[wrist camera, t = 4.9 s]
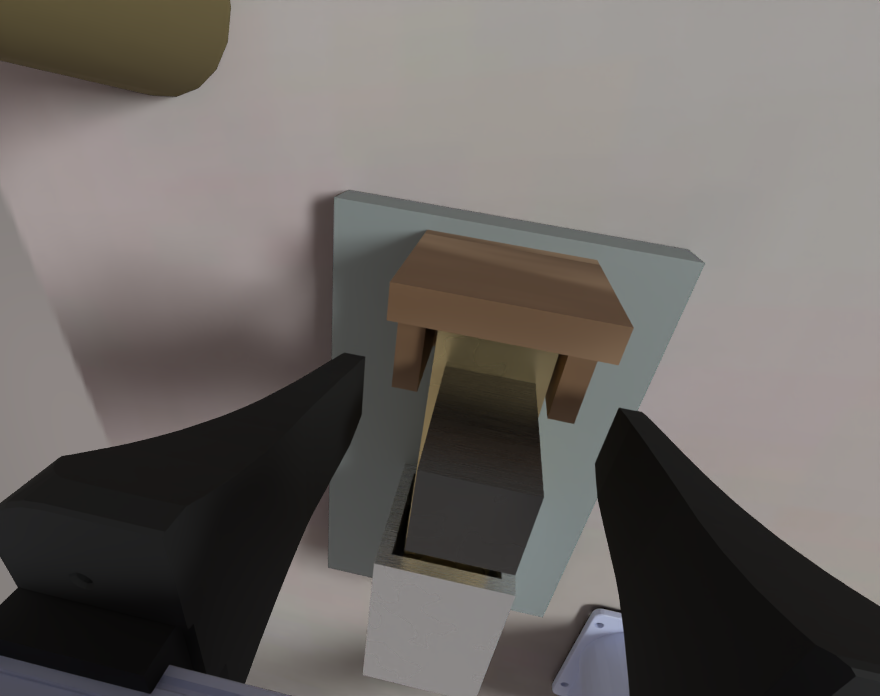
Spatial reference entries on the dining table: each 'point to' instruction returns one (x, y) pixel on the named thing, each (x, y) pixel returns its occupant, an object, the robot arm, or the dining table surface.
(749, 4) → the dining table surface
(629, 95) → the dining table surface
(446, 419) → the brushed brass bar
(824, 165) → the dining table surface
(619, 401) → the slate board
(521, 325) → the walnut socket
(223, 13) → the olive green pawn
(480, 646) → the aluminium sleeve
